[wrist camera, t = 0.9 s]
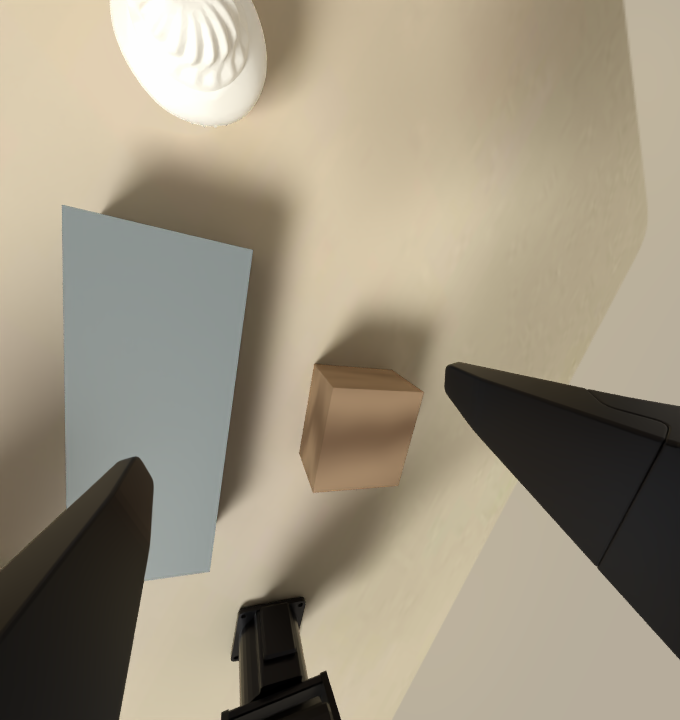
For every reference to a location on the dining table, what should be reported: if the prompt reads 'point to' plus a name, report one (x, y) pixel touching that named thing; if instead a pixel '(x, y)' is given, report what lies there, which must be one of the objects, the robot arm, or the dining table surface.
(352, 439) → the walnut block
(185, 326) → the blue-grey block
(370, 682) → the dining table surface
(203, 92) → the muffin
